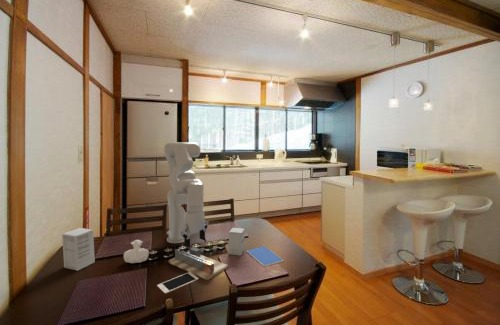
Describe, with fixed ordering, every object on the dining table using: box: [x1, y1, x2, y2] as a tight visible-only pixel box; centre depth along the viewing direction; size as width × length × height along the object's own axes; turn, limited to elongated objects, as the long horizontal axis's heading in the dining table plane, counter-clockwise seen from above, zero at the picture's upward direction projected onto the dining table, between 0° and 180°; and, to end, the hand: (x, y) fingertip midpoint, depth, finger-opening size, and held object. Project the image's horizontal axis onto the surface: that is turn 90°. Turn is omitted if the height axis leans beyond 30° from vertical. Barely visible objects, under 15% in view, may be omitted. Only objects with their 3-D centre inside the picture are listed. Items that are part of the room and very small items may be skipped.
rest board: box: [168, 250, 229, 281], centre depth 126 cm, size 27×14×1 cm, turn 56°
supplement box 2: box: [228, 227, 245, 256], centre depth 141 cm, size 7×7×13 cm
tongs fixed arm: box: [174, 248, 212, 274], centre depth 123 cm, size 25×2×5 cm, turn 56°
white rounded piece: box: [123, 239, 150, 264], centre depth 130 cm, size 12×8×11 cm
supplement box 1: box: [61, 227, 96, 272], centre depth 124 cm, size 10×9×17 cm
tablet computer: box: [246, 246, 285, 267], centre depth 137 cm, size 19×13×1 cm, turn 29°
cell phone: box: [156, 271, 200, 294], centre depth 111 cm, size 8×16×1 cm, turn 134°
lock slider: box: [188, 246, 201, 257], centre depth 133 cm, size 5×3×4 cm, turn 56°
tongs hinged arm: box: [180, 250, 214, 273], centre depth 123 cm, size 22×1×4 cm, turn 55°
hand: (194, 242), depth 122 cm, fingers open, 9 cm apart
